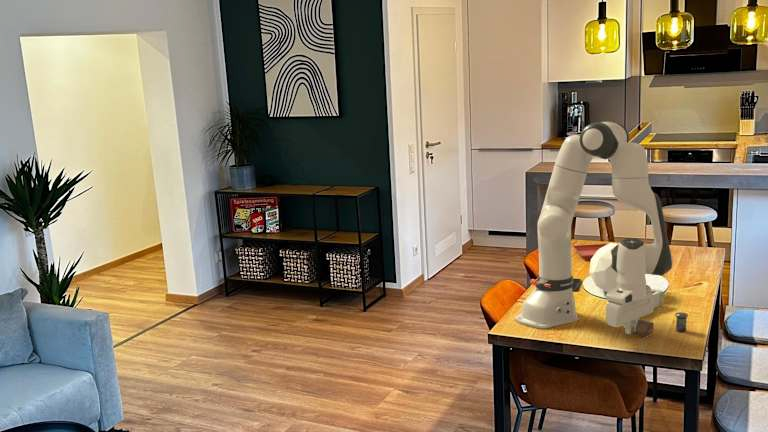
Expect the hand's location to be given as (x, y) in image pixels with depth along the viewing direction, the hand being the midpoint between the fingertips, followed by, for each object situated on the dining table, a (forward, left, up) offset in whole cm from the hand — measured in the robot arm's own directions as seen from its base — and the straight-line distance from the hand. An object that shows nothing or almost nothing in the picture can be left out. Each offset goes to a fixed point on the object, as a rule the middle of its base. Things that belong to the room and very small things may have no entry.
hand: (630, 332), depth 222 cm
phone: (+31, +49, -3) cm, 58 cm away
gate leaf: (+27, +11, -2) cm, 29 cm away
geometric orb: (+36, +31, -2) cm, 48 cm away
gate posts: (+17, +2, -2) cm, 18 cm away
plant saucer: (+75, +69, -3) cm, 102 cm away
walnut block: (+6, 0, -2) cm, 7 cm away
